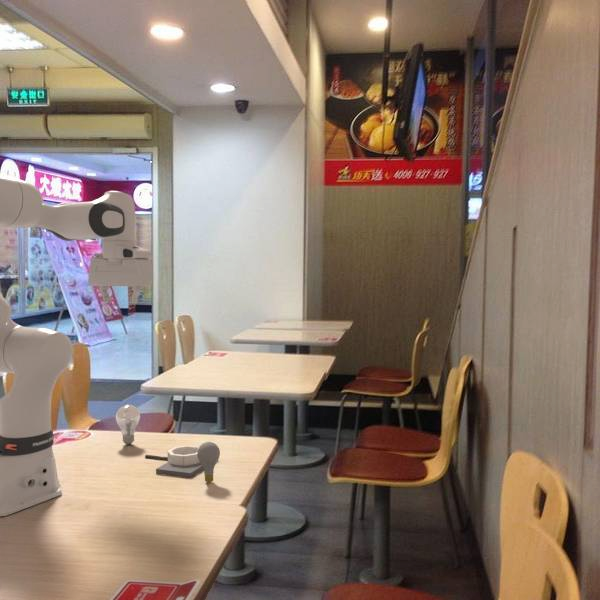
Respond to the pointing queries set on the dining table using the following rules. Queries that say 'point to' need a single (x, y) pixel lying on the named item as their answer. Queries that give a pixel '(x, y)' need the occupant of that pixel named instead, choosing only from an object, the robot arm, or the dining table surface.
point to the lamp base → (180, 462)
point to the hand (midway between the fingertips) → (120, 303)
